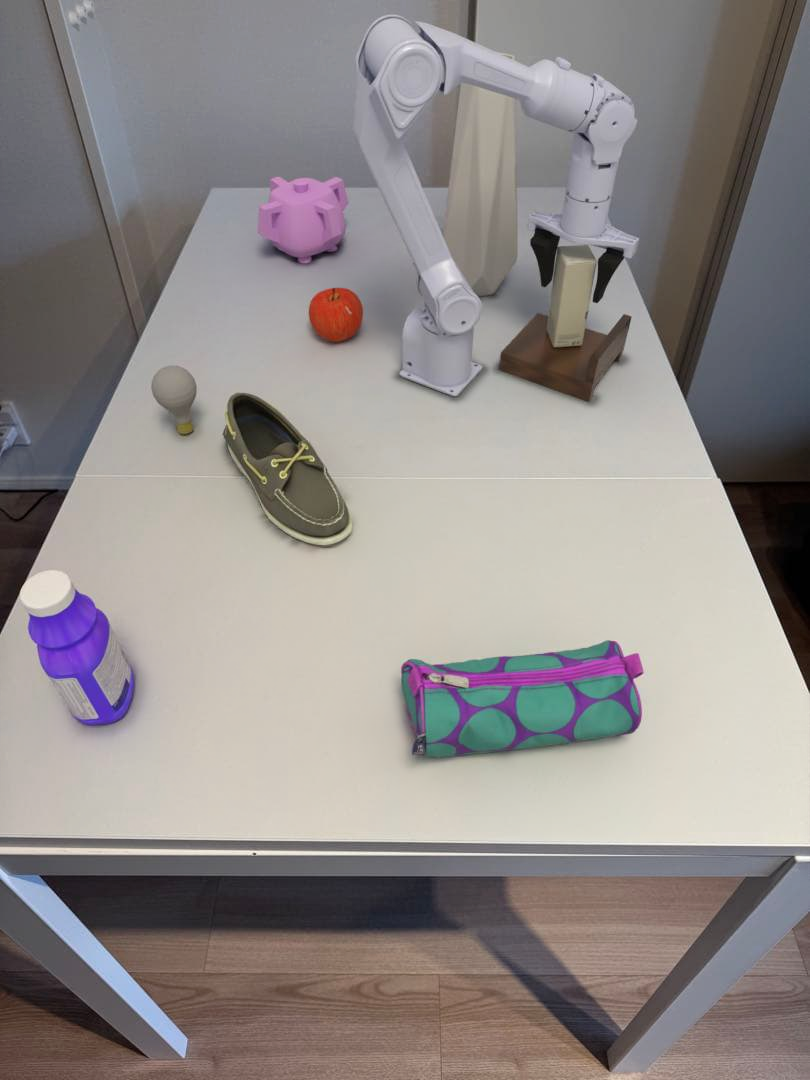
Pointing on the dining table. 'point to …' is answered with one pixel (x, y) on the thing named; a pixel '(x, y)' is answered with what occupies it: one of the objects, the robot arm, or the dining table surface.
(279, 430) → the boat shoe
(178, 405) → the light bulb
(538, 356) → the shelf
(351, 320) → the apple
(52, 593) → the bottle
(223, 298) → the dining table surface
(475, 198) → the vase
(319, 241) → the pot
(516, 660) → the pencil case
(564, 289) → the box
